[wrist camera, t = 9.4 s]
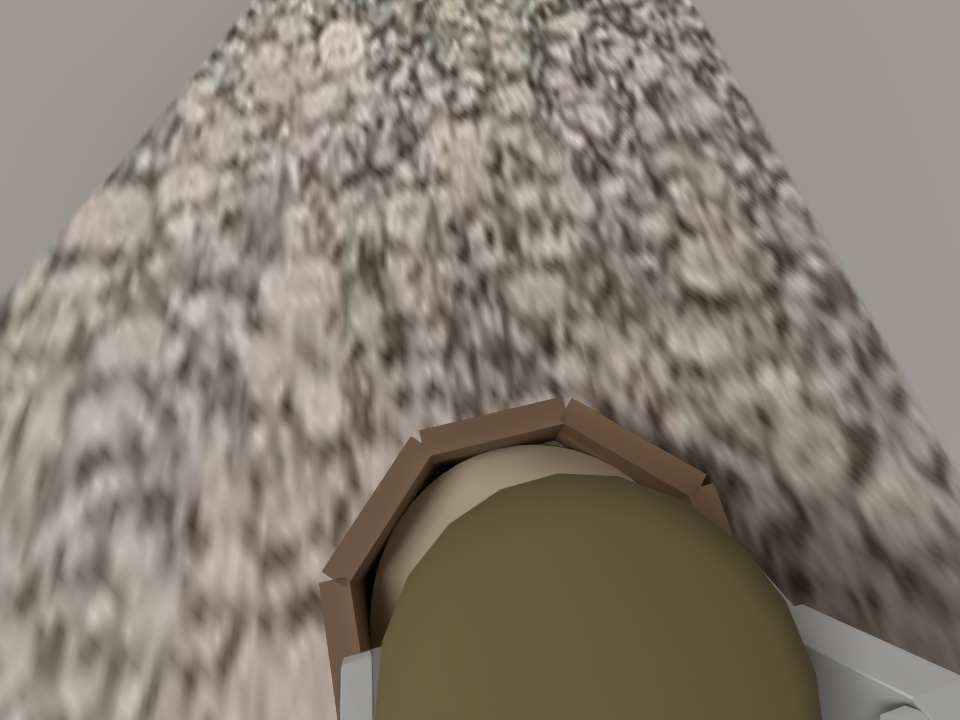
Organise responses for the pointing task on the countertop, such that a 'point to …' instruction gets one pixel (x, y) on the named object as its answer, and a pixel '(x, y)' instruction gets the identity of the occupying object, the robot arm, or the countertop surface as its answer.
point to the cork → (591, 615)
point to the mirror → (477, 501)
